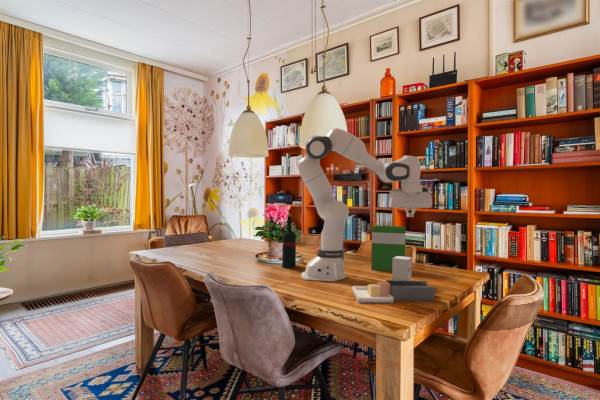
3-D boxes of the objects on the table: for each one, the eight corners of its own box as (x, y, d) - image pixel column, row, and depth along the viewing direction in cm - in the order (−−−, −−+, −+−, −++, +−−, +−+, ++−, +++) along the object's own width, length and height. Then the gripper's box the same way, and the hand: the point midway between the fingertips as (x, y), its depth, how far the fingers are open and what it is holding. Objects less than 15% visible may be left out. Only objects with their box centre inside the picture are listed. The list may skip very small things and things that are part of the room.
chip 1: (380, 296, 138) (370, 296, 137) (376, 293, 142) (367, 293, 141) (380, 286, 138) (370, 287, 137) (376, 284, 142) (367, 284, 141)
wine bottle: (298, 265, 197) (299, 213, 196) (293, 268, 187) (294, 215, 186) (285, 264, 199) (286, 213, 198) (280, 267, 189) (280, 214, 188)
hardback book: (404, 269, 189) (405, 226, 189) (404, 272, 182) (405, 228, 181) (372, 266, 194) (372, 225, 193) (371, 269, 187) (372, 226, 186)
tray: (358, 302, 132) (358, 297, 132) (352, 290, 148) (352, 286, 148) (393, 303, 132) (393, 298, 132) (383, 290, 148) (383, 286, 148)
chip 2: (380, 294, 137) (380, 284, 137) (377, 291, 141) (377, 281, 141) (390, 293, 138) (390, 283, 138) (386, 290, 142) (386, 281, 142)
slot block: (392, 300, 135) (392, 286, 135) (385, 292, 145) (386, 280, 145) (434, 301, 135) (434, 287, 135) (425, 293, 145) (425, 280, 145)
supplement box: (407, 287, 154) (408, 259, 154) (391, 284, 158) (391, 257, 157) (411, 283, 160) (412, 257, 160) (396, 281, 164) (396, 255, 164)
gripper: (391, 188, 162) (390, 217, 163) (433, 188, 162) (433, 217, 163) (387, 188, 169) (387, 216, 169) (428, 189, 169) (428, 216, 169)
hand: (410, 216), depth 166 cm, fingers closed
